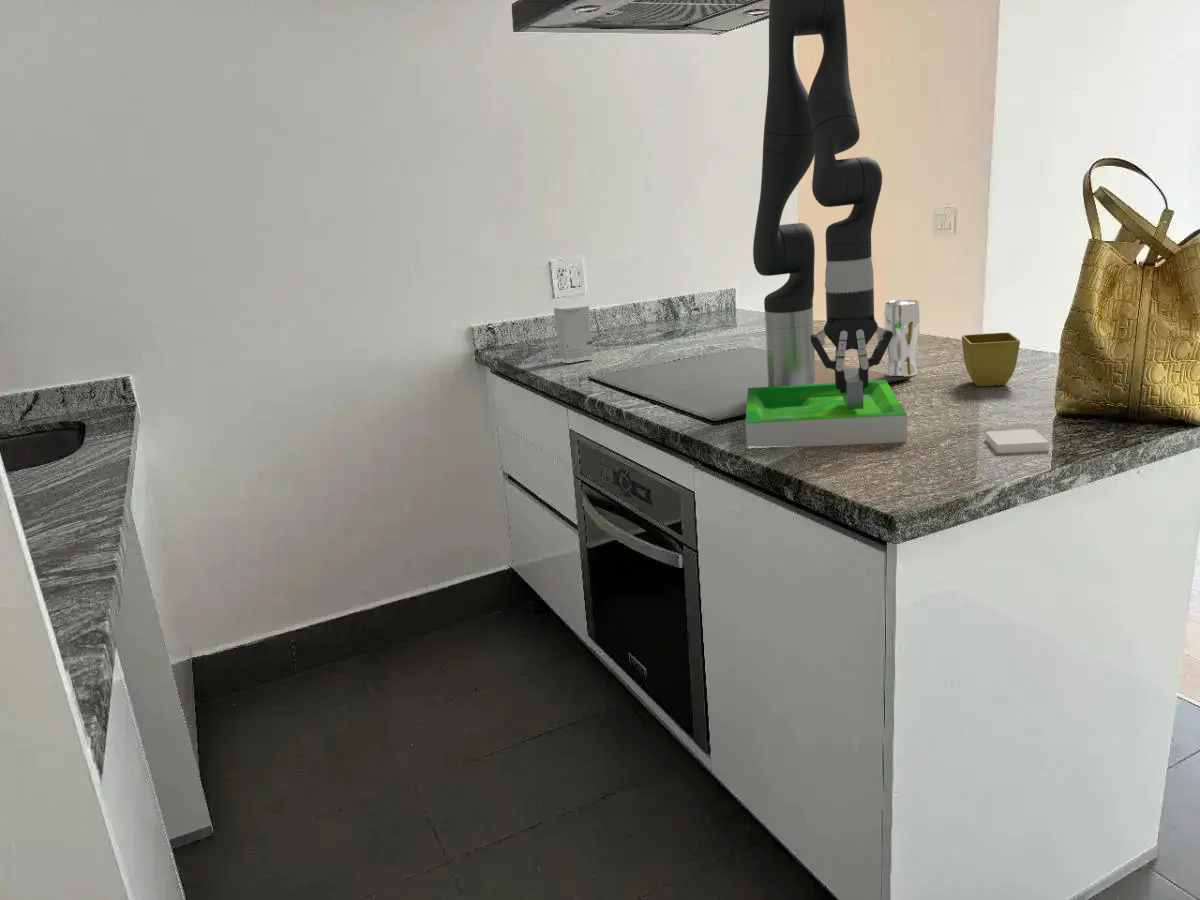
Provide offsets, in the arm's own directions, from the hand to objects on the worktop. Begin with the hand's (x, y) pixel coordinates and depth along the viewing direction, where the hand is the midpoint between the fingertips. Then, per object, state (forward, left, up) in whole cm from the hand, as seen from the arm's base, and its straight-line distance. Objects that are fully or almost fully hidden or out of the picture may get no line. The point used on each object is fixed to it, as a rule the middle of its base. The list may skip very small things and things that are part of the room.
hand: (852, 390), depth 145 cm
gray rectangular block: (0, 0, -2) cm, 2 cm away
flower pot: (+28, +26, -7) cm, 39 cm away
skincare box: (-64, +80, -7) cm, 103 cm away
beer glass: (+14, +39, -7) cm, 42 cm away
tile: (+19, -14, -6) cm, 24 cm away
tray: (-5, +3, -7) cm, 9 cm away
